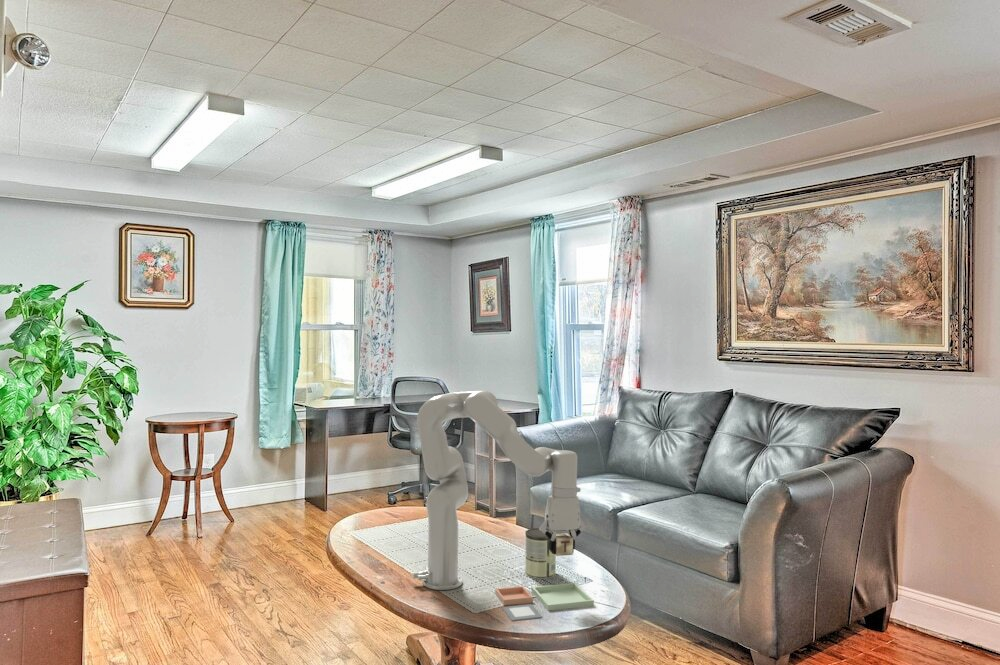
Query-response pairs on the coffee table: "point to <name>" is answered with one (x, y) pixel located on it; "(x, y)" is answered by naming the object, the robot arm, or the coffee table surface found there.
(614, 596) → the coffee table surface
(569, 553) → the letter cube
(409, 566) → the coffee table surface
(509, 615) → the grey framed white tile
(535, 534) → the coffee can
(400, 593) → the coffee table surface
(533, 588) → the green tray
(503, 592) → the terracotta dish
